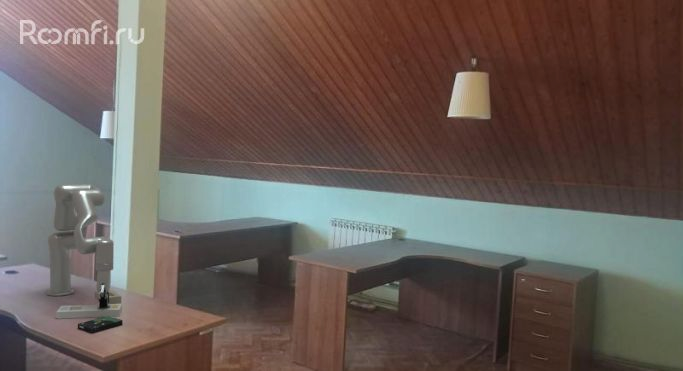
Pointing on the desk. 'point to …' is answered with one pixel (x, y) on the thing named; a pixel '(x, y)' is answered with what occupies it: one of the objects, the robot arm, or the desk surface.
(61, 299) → the desk surface
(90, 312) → the white device panel
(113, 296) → the electrical outlet
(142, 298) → the desk surface
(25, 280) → the desk surface
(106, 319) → the disk drive
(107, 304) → the plug
